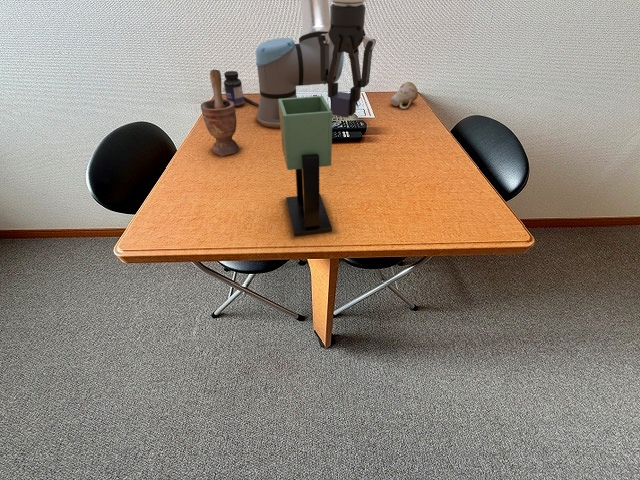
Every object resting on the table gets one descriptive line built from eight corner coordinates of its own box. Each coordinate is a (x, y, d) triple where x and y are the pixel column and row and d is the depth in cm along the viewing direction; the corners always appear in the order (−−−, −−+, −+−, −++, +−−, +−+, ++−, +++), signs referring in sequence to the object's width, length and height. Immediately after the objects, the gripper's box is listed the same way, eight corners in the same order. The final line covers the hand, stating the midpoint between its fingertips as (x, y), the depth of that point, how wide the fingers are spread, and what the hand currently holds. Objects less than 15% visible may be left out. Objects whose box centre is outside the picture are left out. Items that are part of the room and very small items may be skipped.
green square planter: (322, 146, 69) (322, 95, 63) (331, 165, 63) (332, 112, 57) (282, 150, 68) (278, 98, 61) (287, 170, 62) (283, 115, 55)
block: (331, 114, 88) (331, 96, 85) (338, 108, 91) (339, 91, 88) (347, 117, 86) (348, 99, 83) (354, 111, 89) (355, 94, 86)
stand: (319, 197, 80) (319, 127, 69) (332, 231, 71) (334, 157, 59) (286, 200, 79) (280, 130, 68) (294, 236, 69) (288, 161, 58)
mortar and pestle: (205, 143, 102) (188, 71, 89) (233, 137, 105) (220, 66, 92) (215, 159, 94) (198, 83, 81) (245, 152, 97) (233, 78, 84)
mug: (383, 105, 125) (392, 77, 123) (401, 113, 131) (410, 86, 128) (398, 106, 119) (407, 76, 117) (416, 114, 125) (425, 86, 122)
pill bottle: (224, 104, 126) (218, 72, 118) (238, 100, 129) (233, 69, 121) (233, 109, 122) (227, 76, 115) (247, 105, 125) (243, 72, 118)
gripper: (303, 3, 73) (306, 111, 89) (382, 8, 67) (370, 123, 83) (318, -2, 78) (318, 101, 94) (392, 3, 72) (379, 112, 88)
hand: (343, 111), depth 88 cm, fingers closed on block, 4 cm apart
